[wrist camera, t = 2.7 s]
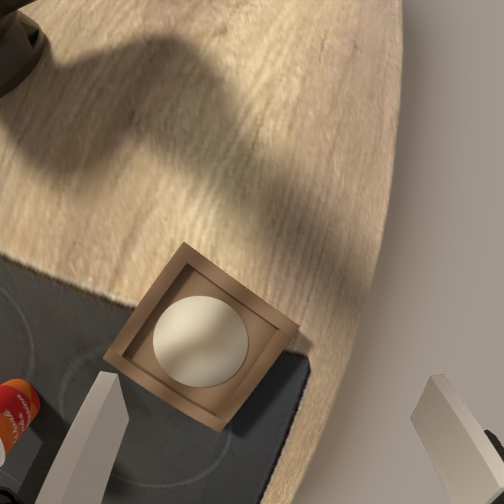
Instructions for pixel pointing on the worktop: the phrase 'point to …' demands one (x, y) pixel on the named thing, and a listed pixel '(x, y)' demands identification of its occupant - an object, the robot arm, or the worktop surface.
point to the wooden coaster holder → (200, 339)
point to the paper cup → (15, 412)
